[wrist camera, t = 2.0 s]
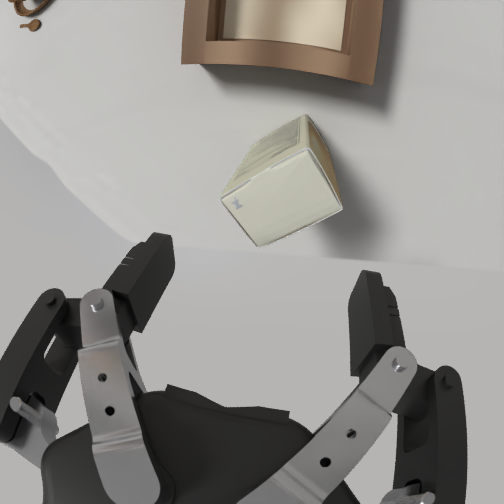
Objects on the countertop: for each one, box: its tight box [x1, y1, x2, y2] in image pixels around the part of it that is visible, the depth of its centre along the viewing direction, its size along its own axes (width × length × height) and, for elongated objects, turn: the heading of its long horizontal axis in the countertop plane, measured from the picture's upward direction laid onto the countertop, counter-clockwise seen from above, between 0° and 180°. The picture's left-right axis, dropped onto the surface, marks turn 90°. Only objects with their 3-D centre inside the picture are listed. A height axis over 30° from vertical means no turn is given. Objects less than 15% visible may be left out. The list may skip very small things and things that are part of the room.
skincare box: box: [219, 114, 343, 249], centre depth 20 cm, size 6×4×12 cm
